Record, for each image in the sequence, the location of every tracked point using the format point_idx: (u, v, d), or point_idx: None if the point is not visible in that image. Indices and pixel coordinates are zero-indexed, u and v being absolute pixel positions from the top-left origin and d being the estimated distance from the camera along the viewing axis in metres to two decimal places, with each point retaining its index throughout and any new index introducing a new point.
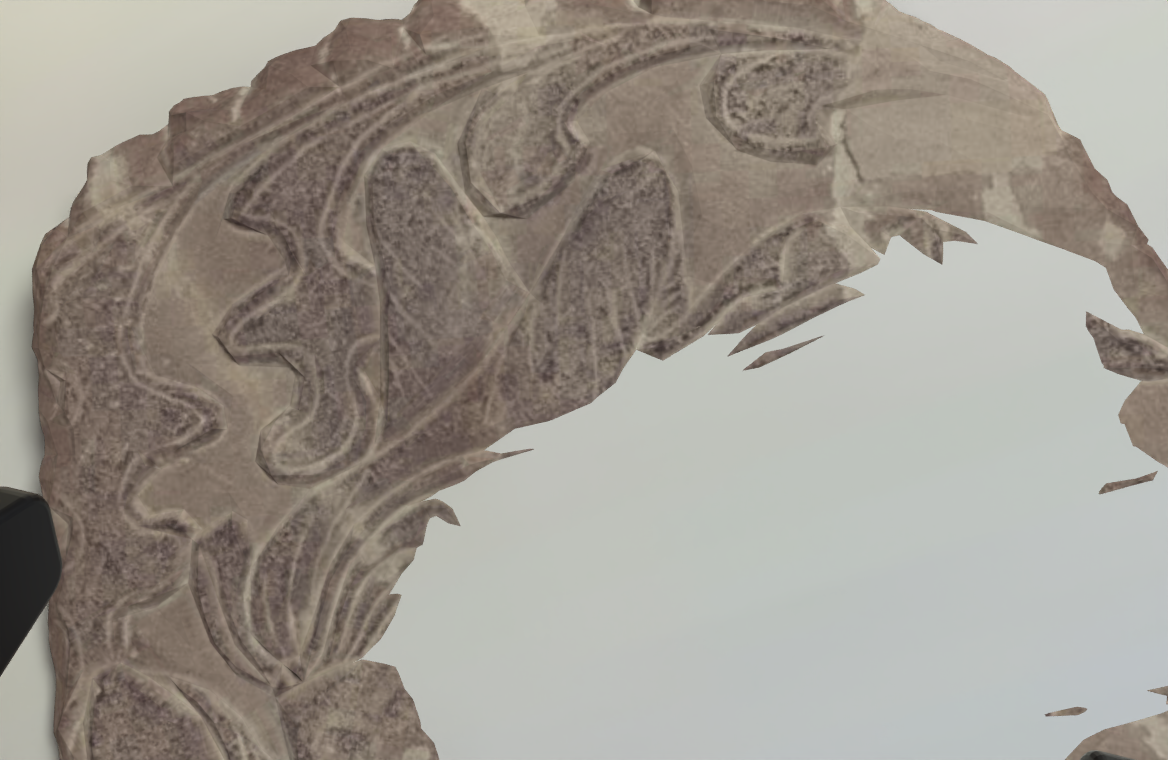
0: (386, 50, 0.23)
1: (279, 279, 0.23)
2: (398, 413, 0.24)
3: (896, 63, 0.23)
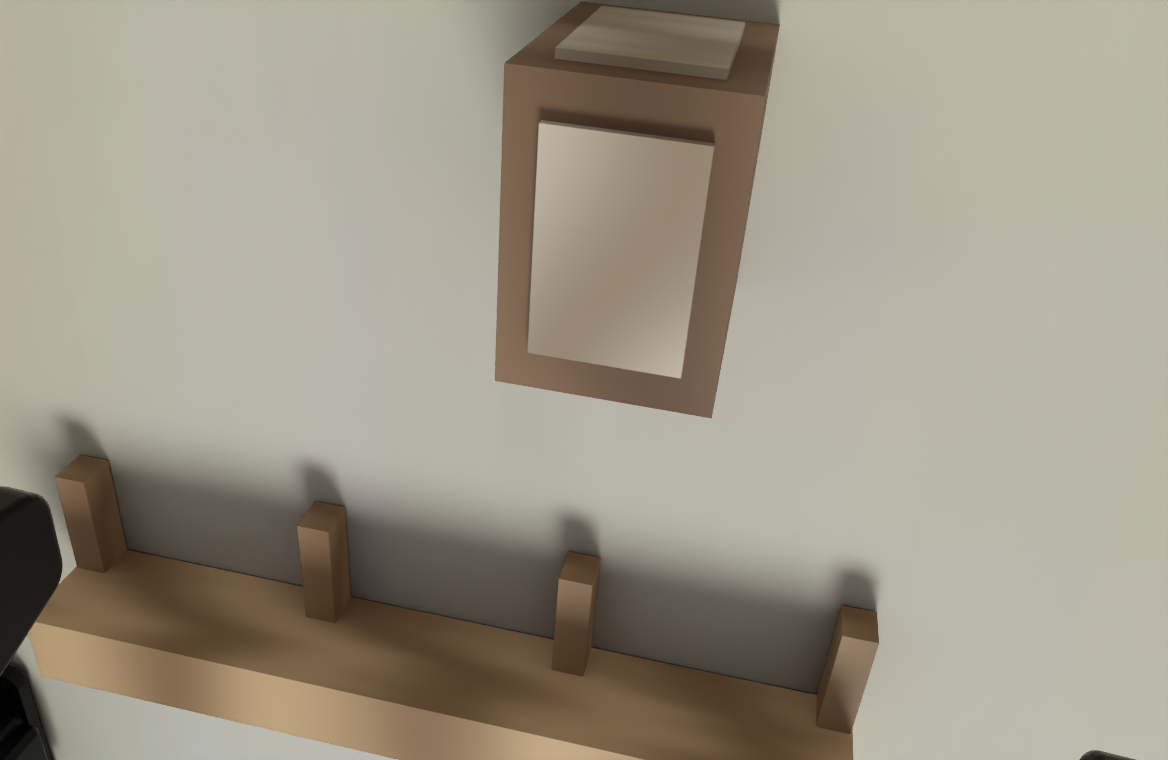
0: None
1: None
2: None
3: None
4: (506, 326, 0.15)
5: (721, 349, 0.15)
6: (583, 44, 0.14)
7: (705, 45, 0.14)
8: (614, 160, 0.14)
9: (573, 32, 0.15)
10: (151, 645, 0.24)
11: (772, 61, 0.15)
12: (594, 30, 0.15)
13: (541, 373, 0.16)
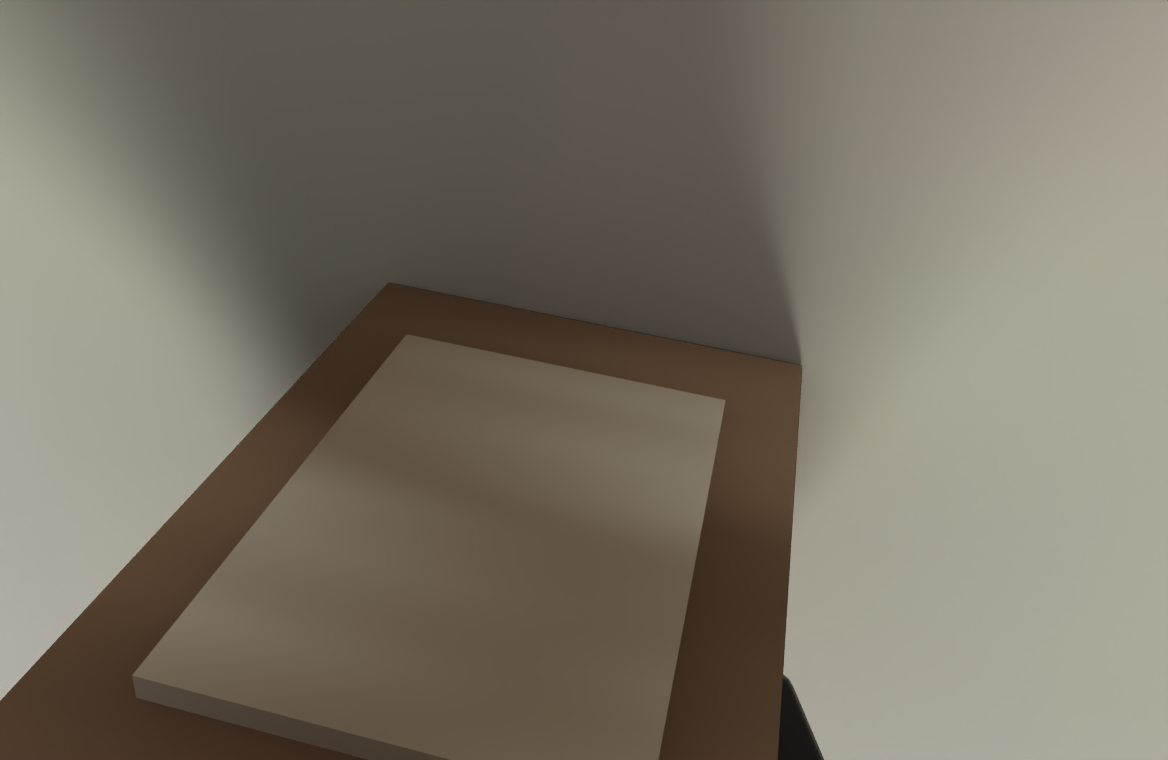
0: None
1: None
2: None
3: None
4: None
5: None
6: (236, 636, 0.05)
7: (607, 581, 0.05)
8: None
9: (255, 525, 0.05)
10: None
11: None
12: (322, 504, 0.06)
13: None
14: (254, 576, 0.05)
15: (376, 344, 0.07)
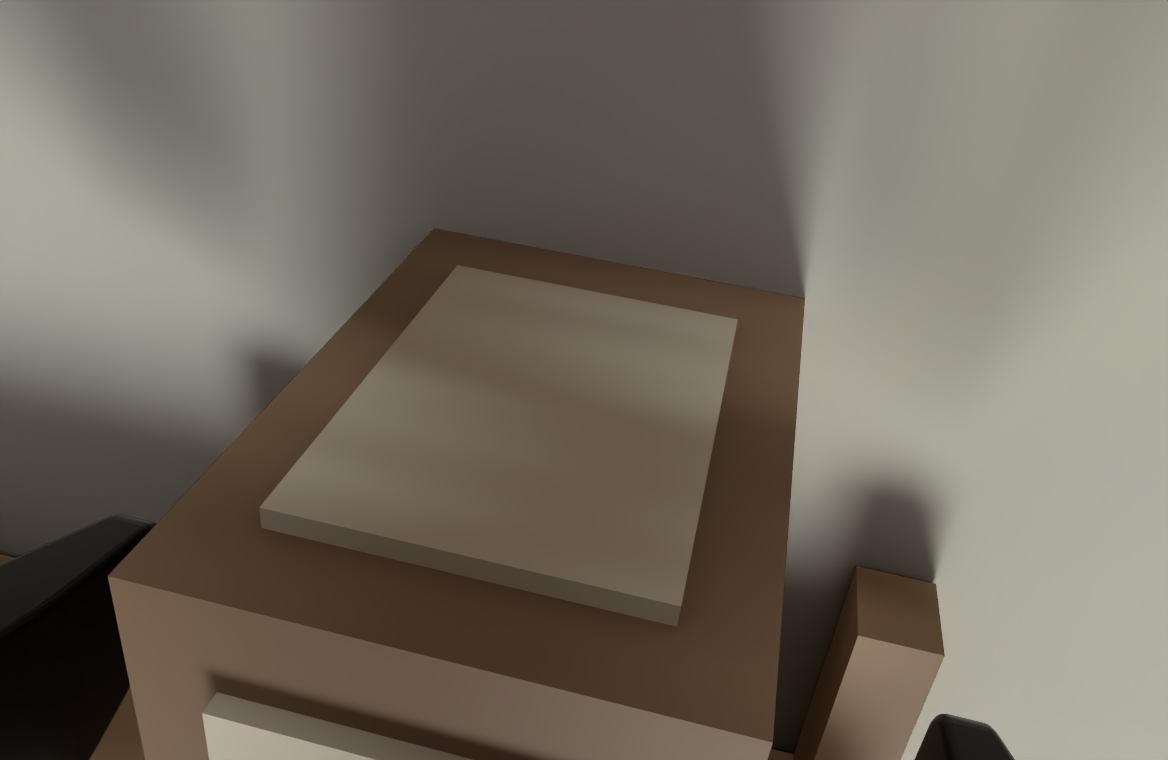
0: None
1: None
2: None
3: None
4: None
5: None
6: (340, 482, 0.06)
7: (641, 450, 0.06)
8: None
9: (345, 405, 0.06)
10: None
11: None
12: (399, 391, 0.07)
13: None
14: (349, 441, 0.06)
15: (430, 275, 0.09)
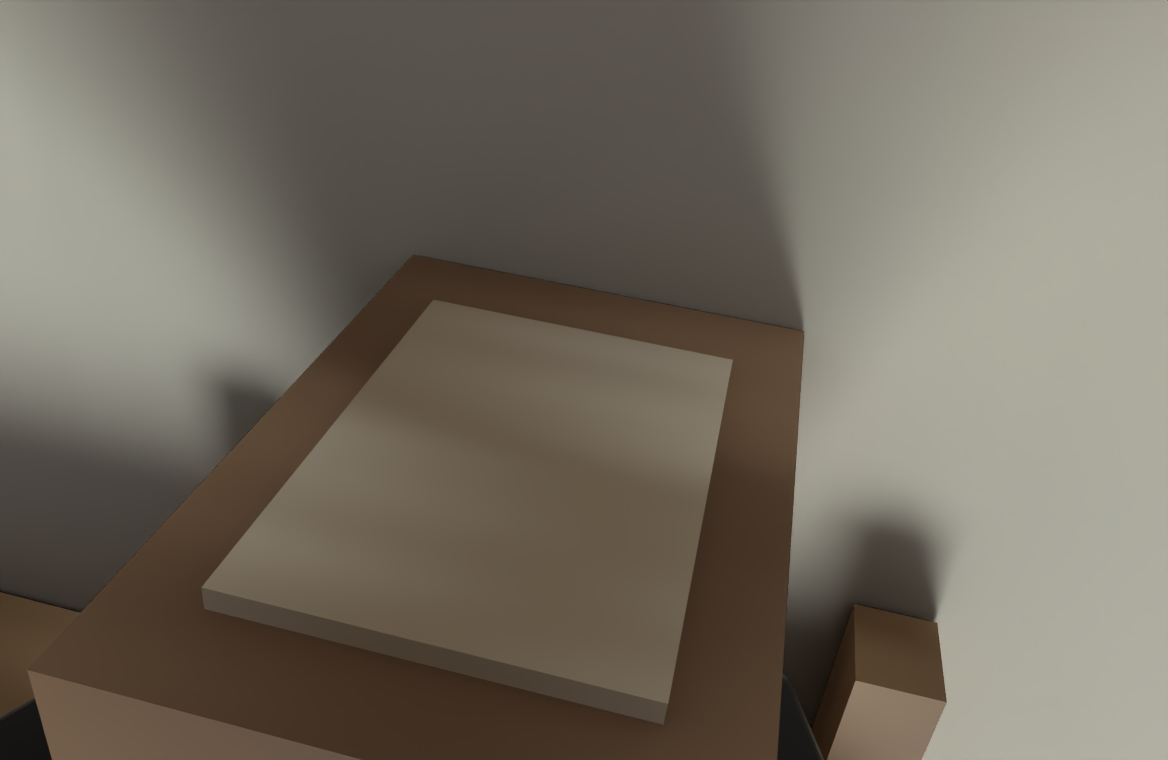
0: None
1: None
2: None
3: None
4: None
5: None
6: (293, 555, 0.05)
7: (626, 514, 0.06)
8: None
9: (304, 463, 0.06)
10: None
11: None
12: (363, 446, 0.06)
13: None
14: (305, 506, 0.06)
15: (405, 309, 0.08)
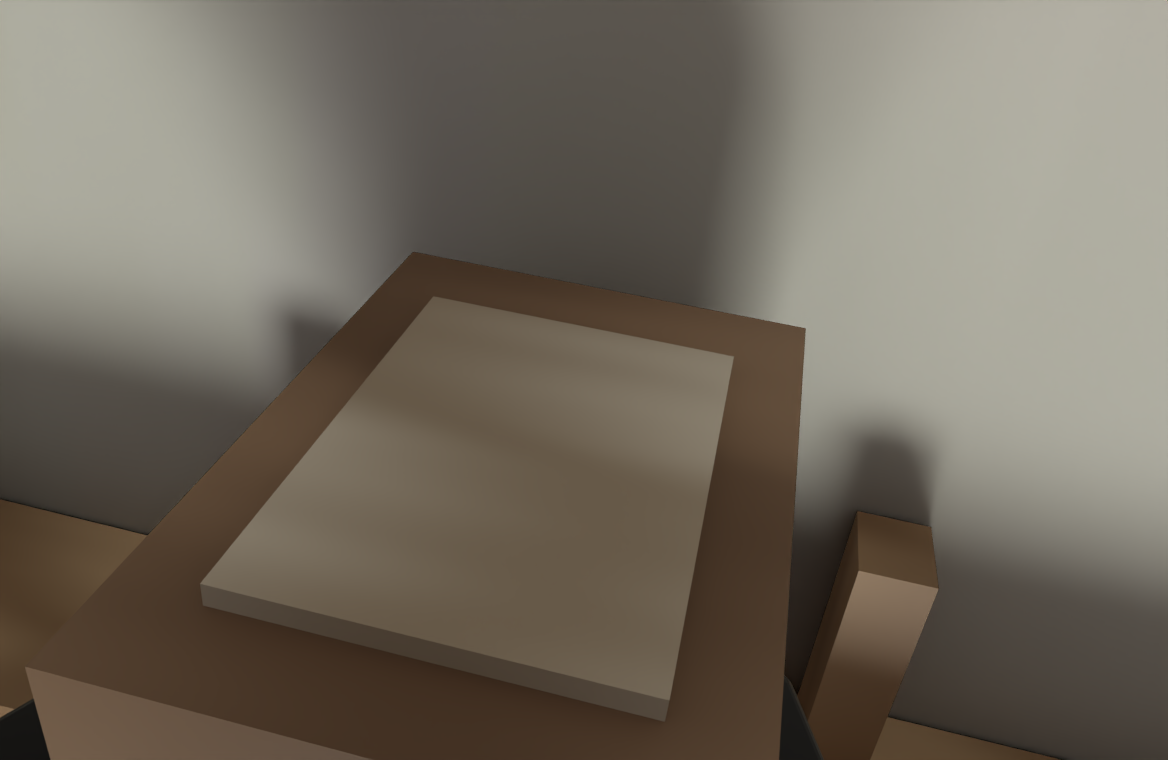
0: None
1: None
2: None
3: None
4: None
5: None
6: (292, 552, 0.05)
7: (627, 511, 0.06)
8: None
9: (303, 460, 0.06)
10: None
11: None
12: (363, 442, 0.06)
13: None
14: (305, 502, 0.06)
15: (404, 306, 0.08)
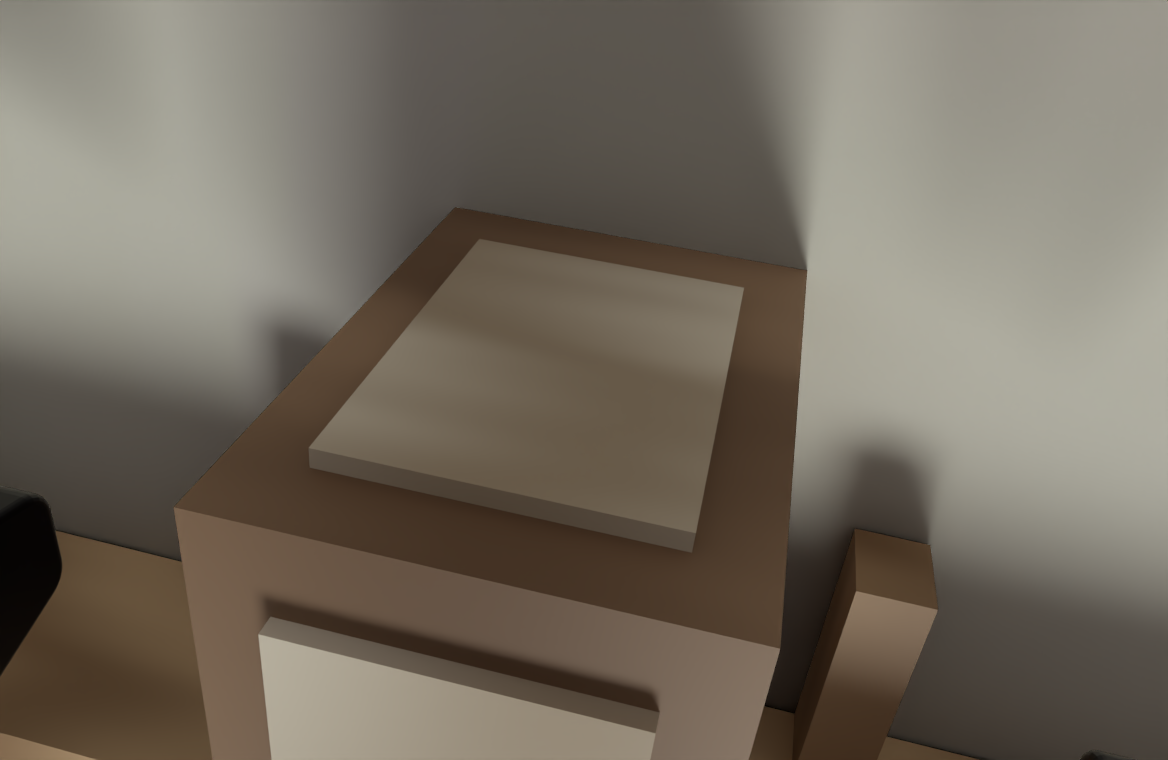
0: None
1: None
2: None
3: None
4: None
5: None
6: (381, 427, 0.06)
7: (656, 402, 0.07)
8: (430, 721, 0.06)
9: (381, 361, 0.07)
10: None
11: None
12: (430, 349, 0.07)
13: None
14: (387, 392, 0.07)
15: (453, 249, 0.09)
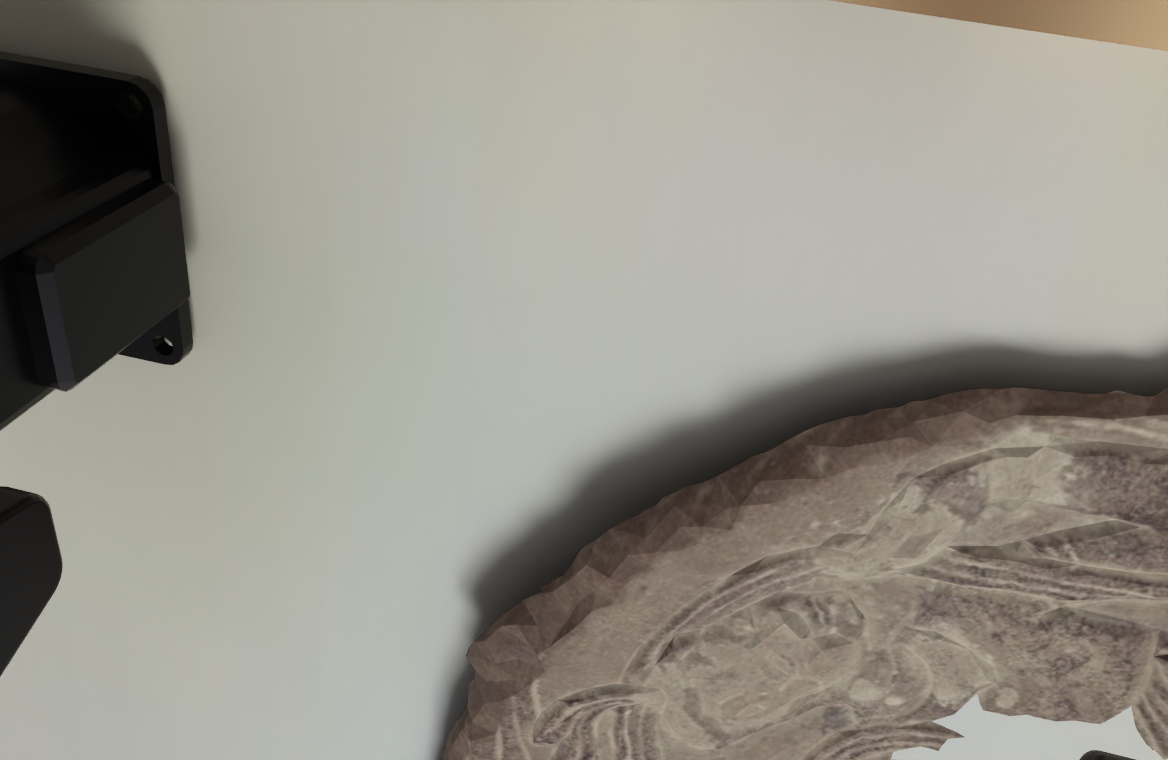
0: None
1: None
2: None
3: None
4: None
5: None
6: None
7: None
8: None
9: None
10: None
11: None
12: None
13: None
14: None
15: None
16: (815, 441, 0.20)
